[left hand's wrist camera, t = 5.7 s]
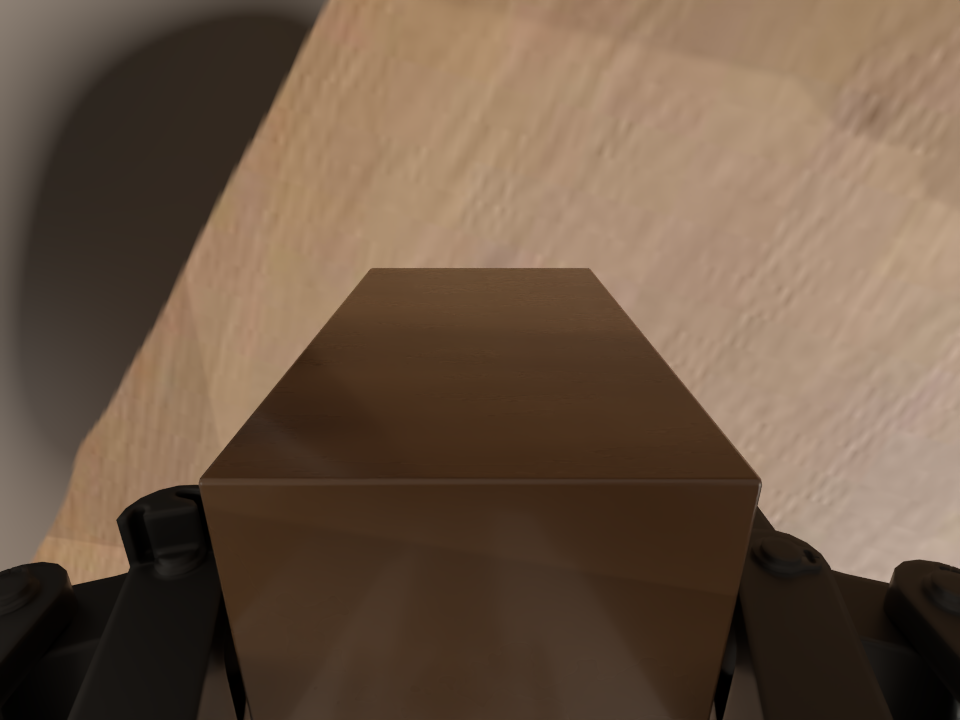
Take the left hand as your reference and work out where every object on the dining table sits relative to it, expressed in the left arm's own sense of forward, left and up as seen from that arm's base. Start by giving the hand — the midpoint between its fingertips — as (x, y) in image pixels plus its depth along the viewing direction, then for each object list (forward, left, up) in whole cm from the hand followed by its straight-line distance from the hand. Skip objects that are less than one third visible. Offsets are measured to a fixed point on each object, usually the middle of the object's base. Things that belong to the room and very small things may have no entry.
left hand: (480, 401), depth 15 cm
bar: (+5, +5, -1) cm, 8 cm away
